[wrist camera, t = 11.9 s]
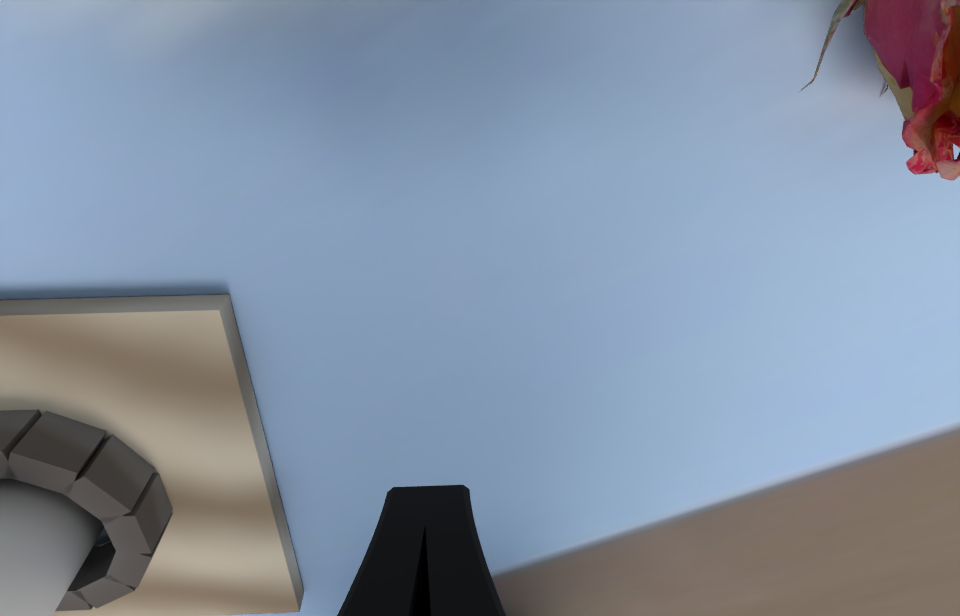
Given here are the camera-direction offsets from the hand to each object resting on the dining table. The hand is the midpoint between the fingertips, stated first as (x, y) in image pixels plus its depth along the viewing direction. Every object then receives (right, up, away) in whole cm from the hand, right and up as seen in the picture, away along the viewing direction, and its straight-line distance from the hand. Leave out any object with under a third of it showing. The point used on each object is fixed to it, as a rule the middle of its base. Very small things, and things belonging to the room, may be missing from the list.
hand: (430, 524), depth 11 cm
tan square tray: (-15, -3, +13) cm, 20 cm away
